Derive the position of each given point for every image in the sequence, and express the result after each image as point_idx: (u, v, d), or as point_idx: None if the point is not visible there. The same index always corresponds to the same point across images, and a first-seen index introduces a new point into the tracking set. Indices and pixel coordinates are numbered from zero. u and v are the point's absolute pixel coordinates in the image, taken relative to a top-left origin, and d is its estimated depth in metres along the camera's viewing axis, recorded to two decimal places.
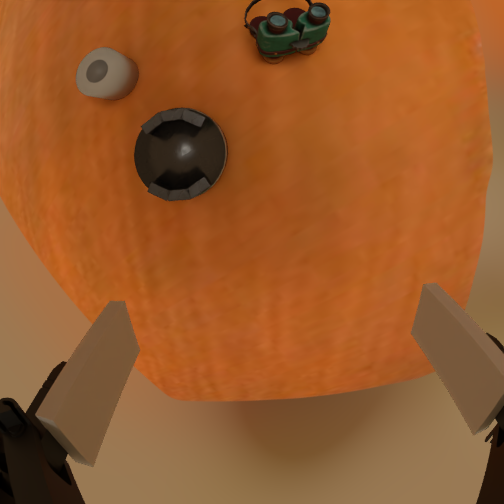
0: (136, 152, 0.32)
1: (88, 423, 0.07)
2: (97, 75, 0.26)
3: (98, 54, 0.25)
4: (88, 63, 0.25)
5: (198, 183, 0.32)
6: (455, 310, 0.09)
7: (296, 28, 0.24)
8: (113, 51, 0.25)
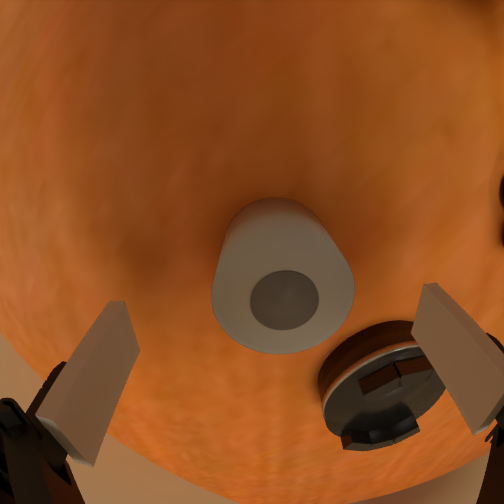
0: (331, 407, 0.19)
1: (88, 423, 0.07)
2: (283, 310, 0.13)
3: (287, 252, 0.12)
4: (253, 271, 0.12)
5: (409, 432, 0.19)
6: (455, 310, 0.09)
7: None
8: (337, 255, 0.12)
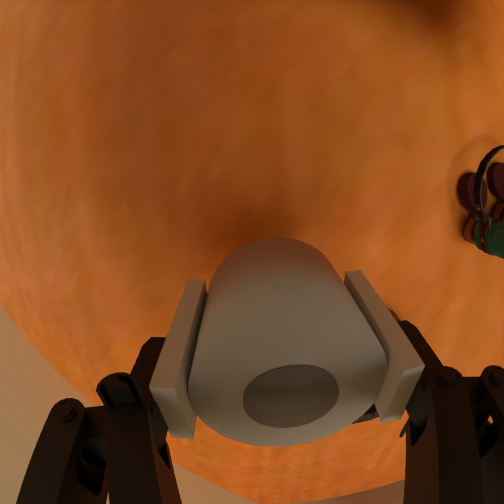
0: None
1: None
2: (289, 407, 0.09)
3: (298, 343, 0.07)
4: (247, 367, 0.08)
5: None
6: (368, 295, 0.11)
7: None
8: (369, 340, 0.08)
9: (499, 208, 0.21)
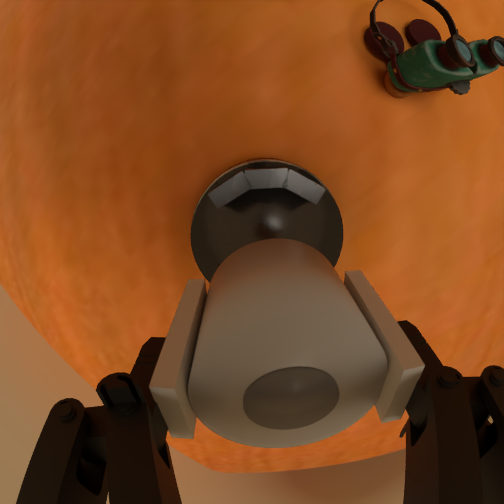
0: (194, 233, 0.21)
1: None
2: (290, 409, 0.08)
3: (299, 345, 0.07)
4: (247, 369, 0.08)
5: None
6: (368, 295, 0.11)
7: None
8: (370, 342, 0.08)
9: None
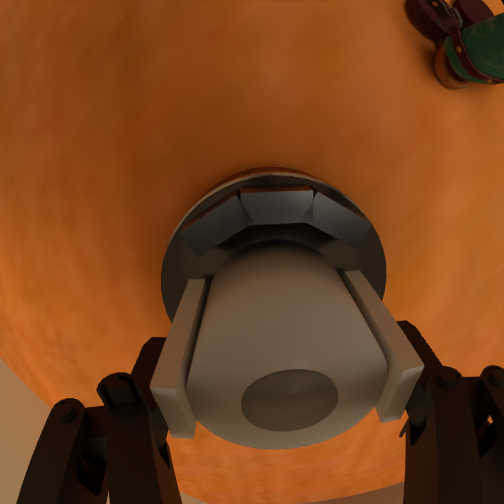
0: (166, 284, 0.13)
1: None
2: (288, 411, 0.08)
3: (297, 348, 0.07)
4: (245, 371, 0.08)
5: None
6: (368, 295, 0.11)
7: None
8: (369, 346, 0.07)
9: None
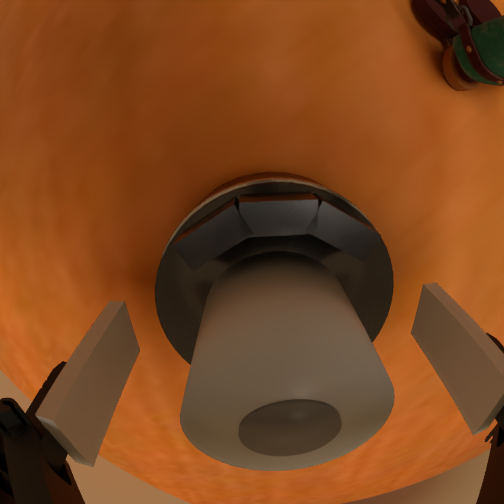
0: (160, 298, 0.13)
1: (88, 423, 0.07)
2: (288, 437, 0.08)
3: (298, 379, 0.07)
4: (242, 401, 0.07)
5: None
6: (455, 310, 0.09)
7: None
8: (377, 374, 0.07)
9: None
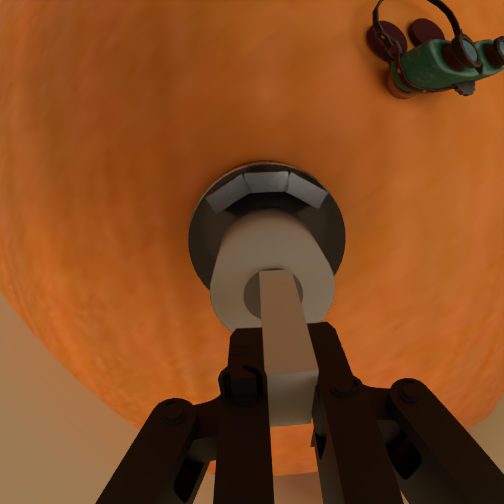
0: (192, 238, 0.20)
1: None
2: None
3: (274, 252, 0.14)
4: (246, 269, 0.14)
5: None
6: (287, 295, 0.11)
7: None
8: (318, 255, 0.14)
9: None
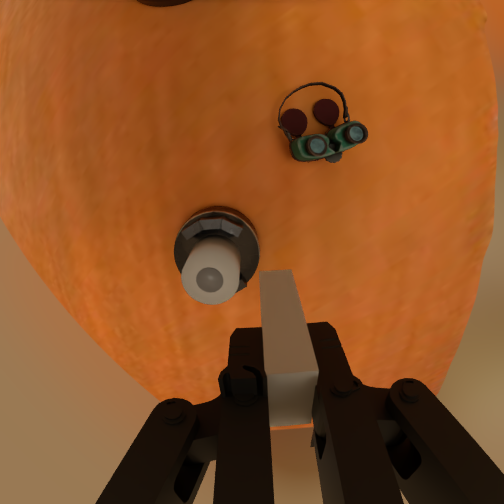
0: (175, 251, 0.37)
1: None
2: (210, 284, 0.32)
3: (208, 260, 0.31)
4: (196, 267, 0.32)
5: None
6: (287, 295, 0.11)
7: (330, 139, 0.30)
8: (228, 261, 0.31)
9: None
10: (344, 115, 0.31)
